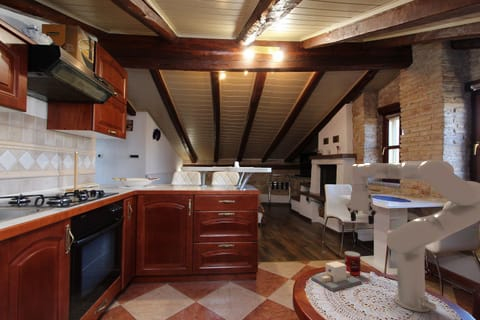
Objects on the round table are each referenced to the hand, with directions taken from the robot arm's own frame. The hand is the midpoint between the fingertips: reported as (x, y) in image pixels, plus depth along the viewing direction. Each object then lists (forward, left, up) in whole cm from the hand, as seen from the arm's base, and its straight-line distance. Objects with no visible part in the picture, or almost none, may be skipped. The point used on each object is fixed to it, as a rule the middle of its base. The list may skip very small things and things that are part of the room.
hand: (362, 222), depth 120 cm
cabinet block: (+8, +10, -29) cm, 32 cm away
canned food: (+11, -6, -31) cm, 33 cm away
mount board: (+8, +10, -30) cm, 33 cm away
